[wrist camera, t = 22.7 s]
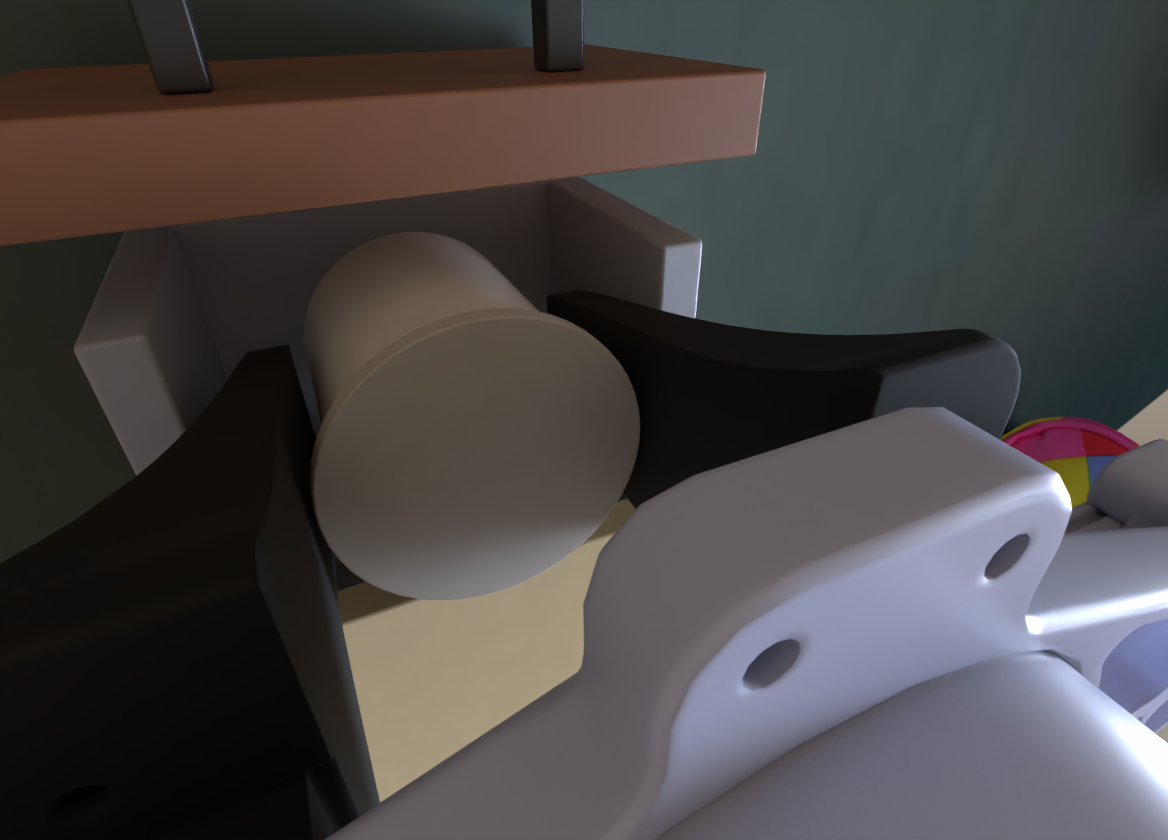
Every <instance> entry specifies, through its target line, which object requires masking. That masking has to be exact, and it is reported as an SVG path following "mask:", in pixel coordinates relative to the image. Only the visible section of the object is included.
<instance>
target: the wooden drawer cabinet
mask: <svg viewBox="0 0 1168 840" xmlns="http://www.w3.org/2000/svg"><path fill="white" fill-rule="evenodd" d="M635 510H636V509H635V508H634V506H633V505H632V503H631V502H630V501H629V500H628V499H625V500H621V501H618V502H617V503H616V505H615V507H614V508H613V509H612V511H611V512H610V513H609V515H608V516H607V518H606V519H605V520H604V522H603V523H602V524H601V525H600V526H599V527H598V528H597V529H596V531H595V532H594V533H593V534H592V535H591V536H590V537H589V538H588V539H587V540H586V541H585V542H584V543H582V544H581V545H580V546H579V547H578V548H577V549H576V550H574V551H573V552H572V553H571V554H569V555H568V556H567V557H565V558H564V559H563V560H561V561H560V562H558V563H557V564H555V565H554V566H552V567H551V568H549V569H548V570H546V571H544V572H542V573H540V574H538V575H537V576H535V577H533V578H531V579H529V580H526V581H524V582H522V583H520V584H517V585H515V586H512V587H510V588H507V589H504V590H501V591H498V592H494V593H490V594H486V595H482V596H478V597H472V598H465V599H458V600H425V599H416V598H411V597H405V596H400V595H397V594H394V593H391V592H388V591H384V590H382V589H380V588H378V587H376V586H374V585H371V584H369V583H367V582H364V583H361V584H358V585H354V586H351V587H348V588H345V589H342V590H339V591H338V600H339V607H340V615H341V622H342V627H343V631H344V636H345V641H346V646H347V651H348V656H349V660H350V665H351V670H352V675H353V680H354V684H355V689H356V694H357V698H358V703H359V708H360V713H361V717H362V722H363V727H364V731H365V736H366V740H367V745H368V750H369V754H370V759H371V763H372V768H373V772H374V777H375V782H376V786H377V791H378V795H379V800H380V802H382V801H383V800H385V799H386V798H388V797H389V796H391V795H392V794H394V793H395V792H397V791H398V790H400V789H401V788H403V787H404V786H406V785H407V784H409V783H411V782H412V781H414V780H415V779H417V778H418V777H420V776H421V775H423V774H424V773H426V772H427V771H429V770H430V769H432V768H433V767H435V766H436V765H438V764H439V763H441V762H442V761H444V760H445V759H447V758H448V757H450V756H451V755H453V754H454V753H456V752H457V751H459V750H460V749H462V748H463V747H465V746H466V745H468V744H469V743H471V742H472V741H474V740H475V739H477V738H478V737H480V736H481V735H483V734H485V733H486V732H488V731H489V730H491V729H492V728H494V727H495V726H497V725H498V724H500V723H501V722H503V721H504V720H506V719H507V718H509V717H510V716H512V715H513V714H515V713H516V712H518V711H519V710H521V709H522V708H524V707H525V706H527V705H528V704H530V703H531V702H533V701H534V700H536V699H537V698H539V697H540V696H542V695H543V694H545V693H546V692H548V691H549V690H551V689H552V688H554V687H555V686H557V685H559V684H560V683H562V682H563V681H565V680H566V679H568V678H569V677H571V676H572V675H574V674H575V673H577V672H578V671H579V669H580V668H581V665H582V659H583V653H584V615H583V604H584V600H585V597H586V594H587V591H588V587H589V584H590V581H591V577H592V574H593V571H594V568H595V564H596V561H597V558H598V555H599V553H600V551H601V550H602V548H603V547H604V546H605V544H606V543H607V542H608V541H609V540H610V539H611V538H612V536H613V535H614V534H615V533H616V532H617V531H618V530H619V528H620V527H621V526H622V525H623V524H624V523H625V522H626V520H627V519H628V518H629V517H630V516H631V515H632V514H633V512H634V511H635Z"/></svg>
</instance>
